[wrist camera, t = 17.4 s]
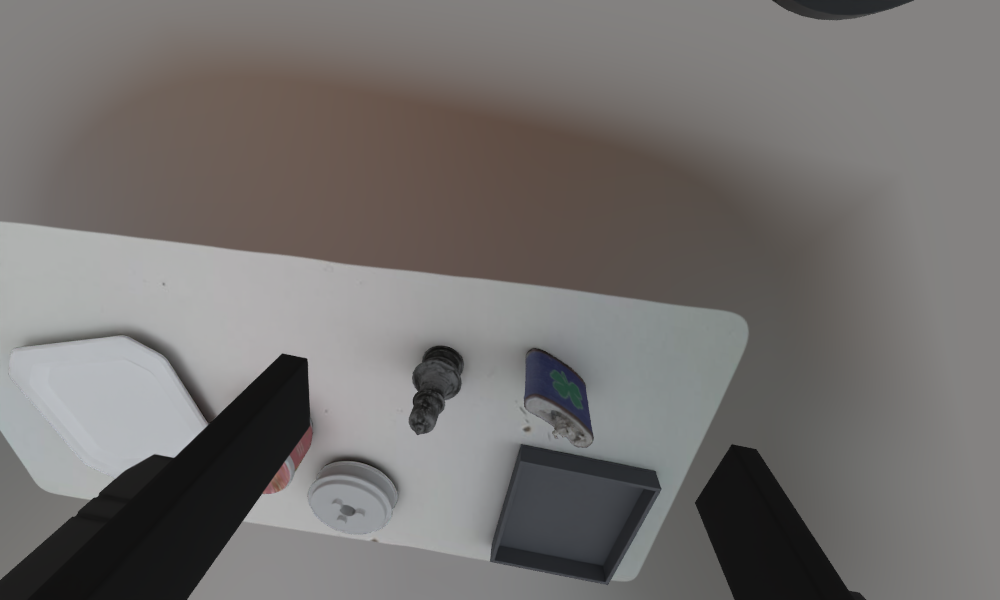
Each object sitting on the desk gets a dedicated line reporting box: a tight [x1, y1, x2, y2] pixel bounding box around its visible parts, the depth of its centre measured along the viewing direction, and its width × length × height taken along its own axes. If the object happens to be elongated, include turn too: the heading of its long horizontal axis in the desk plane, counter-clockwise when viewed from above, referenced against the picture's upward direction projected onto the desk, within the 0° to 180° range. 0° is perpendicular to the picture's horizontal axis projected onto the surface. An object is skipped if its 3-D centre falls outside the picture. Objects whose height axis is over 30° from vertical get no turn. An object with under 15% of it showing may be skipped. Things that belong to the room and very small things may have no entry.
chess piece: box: [409, 346, 464, 435], centre depth 44 cm, size 6×6×12 cm
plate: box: [9, 335, 209, 479], centre depth 56 cm, size 25×25×2 cm
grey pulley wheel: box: [308, 461, 397, 534], centre depth 58 cm, size 13×13×5 cm
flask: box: [524, 348, 594, 448], centre depth 43 cm, size 9×3×11 cm, turn 50°
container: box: [262, 418, 313, 494], centre depth 52 cm, size 10×10×8 cm
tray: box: [490, 444, 661, 585], centre depth 58 cm, size 23×19×3 cm
